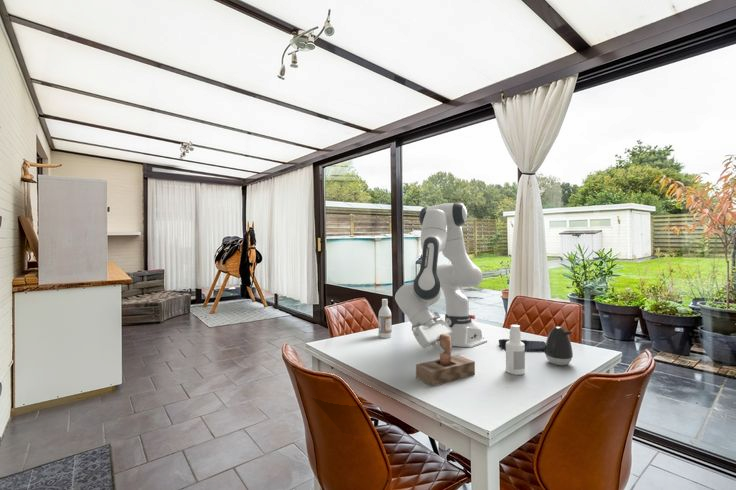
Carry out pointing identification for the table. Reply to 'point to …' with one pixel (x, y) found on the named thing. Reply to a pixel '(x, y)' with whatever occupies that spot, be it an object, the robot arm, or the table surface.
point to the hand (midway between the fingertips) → (446, 350)
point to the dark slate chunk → (526, 345)
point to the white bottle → (515, 352)
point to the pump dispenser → (558, 347)
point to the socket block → (445, 370)
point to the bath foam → (385, 320)
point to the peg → (446, 344)
